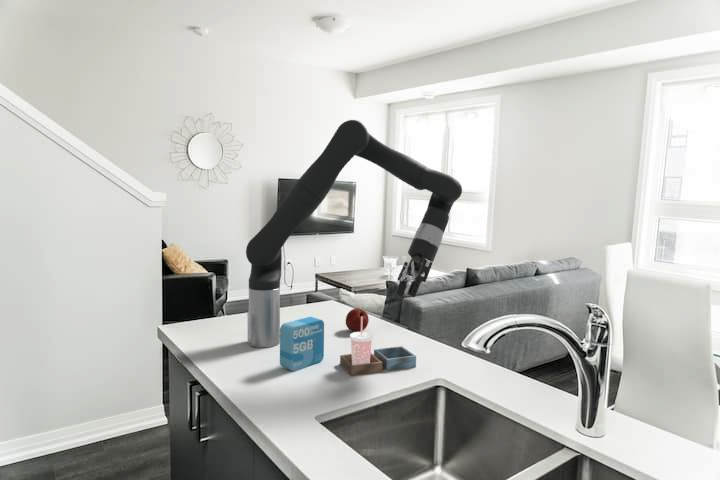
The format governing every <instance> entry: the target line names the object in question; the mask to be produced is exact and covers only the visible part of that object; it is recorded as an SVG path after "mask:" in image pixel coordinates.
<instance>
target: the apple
mask: <svg viewBox="0 0 720 480" xmlns="http://www.w3.org/2000/svg"><path fill="white" fill-rule="evenodd" d="M361 316H363V329H362V332H364V330H365V329H366V328H367V327H368V325H369V315H368V313H367V312H366V311H365V310H363V308H360V307H356V308H353V309H351V310H349V311H348V313H347V314H346V317H345V326H346V328H347V329H348V330H350V331H351V332H352V333H354V332H361Z"/></svg>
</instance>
